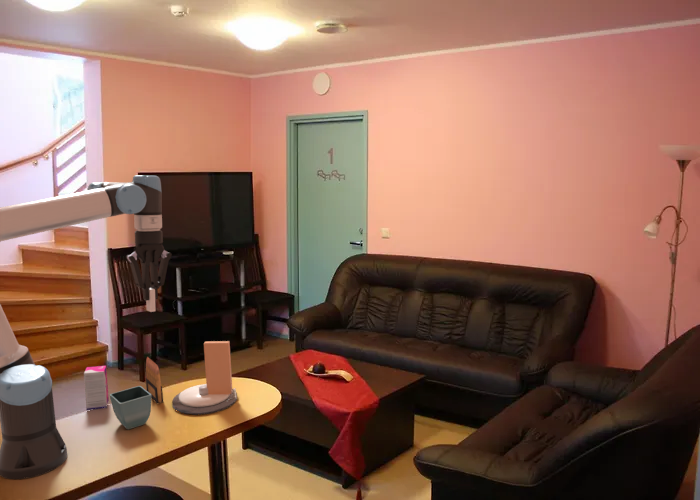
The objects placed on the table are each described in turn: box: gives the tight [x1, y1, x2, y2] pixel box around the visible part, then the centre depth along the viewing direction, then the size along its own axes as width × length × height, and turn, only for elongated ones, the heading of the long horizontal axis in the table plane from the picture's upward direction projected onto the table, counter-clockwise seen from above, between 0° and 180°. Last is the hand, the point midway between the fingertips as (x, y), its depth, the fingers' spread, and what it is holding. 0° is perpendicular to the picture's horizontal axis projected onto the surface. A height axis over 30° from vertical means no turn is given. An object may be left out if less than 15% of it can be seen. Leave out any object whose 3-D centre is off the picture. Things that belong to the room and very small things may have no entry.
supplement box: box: [83, 365, 110, 411], centre depth 179 cm, size 6×6×12 cm
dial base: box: [171, 387, 238, 416], centre depth 181 cm, size 19×19×4 cm
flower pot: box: [109, 385, 152, 430], centre depth 166 cm, size 9×9×9 cm
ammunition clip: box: [145, 356, 164, 405], centre depth 184 cm, size 11×2×12 cm, turn 35°
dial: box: [179, 340, 233, 407], centre depth 179 cm, size 16×15×17 cm
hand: (151, 310), depth 174 cm, fingers closed
